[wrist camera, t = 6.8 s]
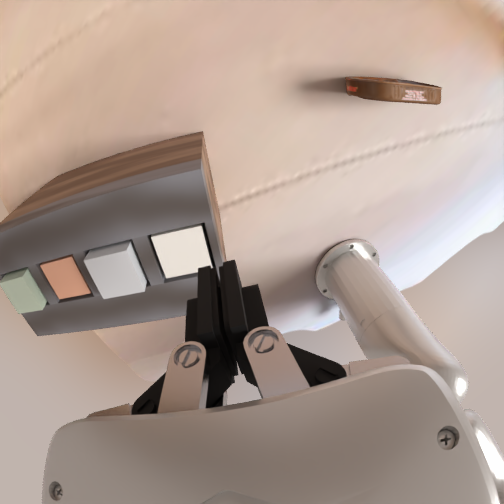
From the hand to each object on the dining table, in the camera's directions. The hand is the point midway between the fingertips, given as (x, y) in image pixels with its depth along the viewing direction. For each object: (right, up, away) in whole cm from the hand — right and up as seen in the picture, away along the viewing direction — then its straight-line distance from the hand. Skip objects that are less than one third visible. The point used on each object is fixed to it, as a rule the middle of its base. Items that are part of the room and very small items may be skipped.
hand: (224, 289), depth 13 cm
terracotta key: (-15, +1, +9) cm, 18 cm away
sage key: (-20, -1, +8) cm, 22 cm away
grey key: (-9, +1, +9) cm, 13 cm away
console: (-15, +10, +23) cm, 29 cm away
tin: (+20, +26, +20) cm, 38 cm away
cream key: (-4, +3, +10) cm, 11 cm away
